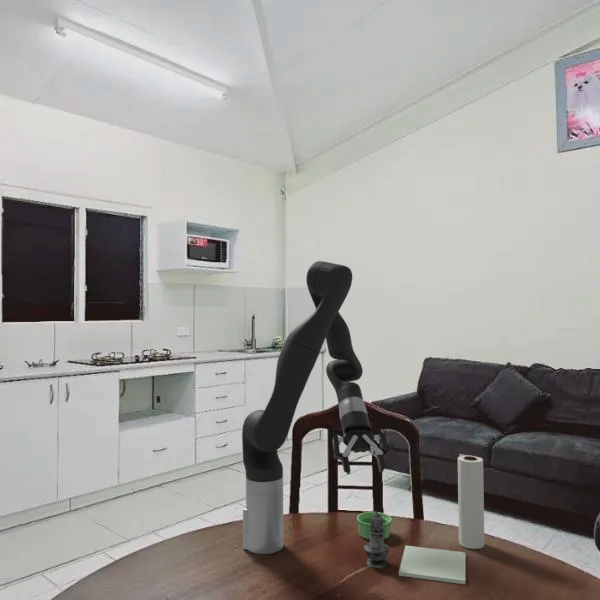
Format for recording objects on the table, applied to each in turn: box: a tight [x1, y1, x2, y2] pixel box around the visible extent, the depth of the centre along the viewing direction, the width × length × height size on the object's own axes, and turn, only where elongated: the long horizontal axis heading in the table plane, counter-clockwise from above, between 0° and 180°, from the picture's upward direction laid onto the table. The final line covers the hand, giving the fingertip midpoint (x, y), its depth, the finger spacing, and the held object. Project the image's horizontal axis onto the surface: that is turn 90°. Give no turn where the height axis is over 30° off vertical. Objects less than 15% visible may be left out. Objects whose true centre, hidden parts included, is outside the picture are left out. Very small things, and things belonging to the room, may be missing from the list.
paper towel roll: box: [457, 453, 485, 550], centre depth 134 cm, size 7×6×21 cm
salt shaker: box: [363, 510, 390, 569], centre depth 124 cm, size 6×6×12 cm
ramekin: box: [356, 511, 393, 540], centre depth 140 cm, size 9×9×4 cm
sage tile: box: [398, 545, 466, 585], centre depth 123 cm, size 14×14×1 cm
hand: (365, 471), depth 136 cm, fingers open, 8 cm apart
